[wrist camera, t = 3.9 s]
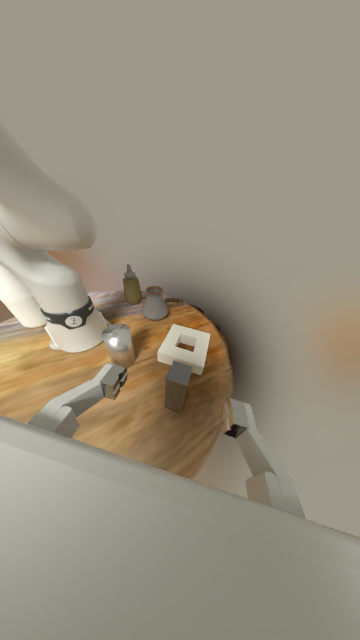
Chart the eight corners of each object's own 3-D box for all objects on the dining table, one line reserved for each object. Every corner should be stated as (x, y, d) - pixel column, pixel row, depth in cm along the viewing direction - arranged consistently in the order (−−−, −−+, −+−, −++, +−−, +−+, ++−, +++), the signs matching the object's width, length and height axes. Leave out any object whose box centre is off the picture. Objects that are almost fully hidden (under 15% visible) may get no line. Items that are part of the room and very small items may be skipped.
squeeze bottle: (132, 307, 64) (125, 269, 52) (122, 301, 67) (114, 264, 56) (145, 301, 69) (142, 265, 58) (135, 295, 72) (130, 261, 61)
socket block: (157, 361, 42) (157, 352, 39) (172, 332, 53) (173, 323, 50) (201, 375, 40) (204, 367, 37) (207, 342, 50) (210, 333, 47)
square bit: (165, 407, 32) (165, 378, 24) (170, 391, 35) (173, 360, 27) (180, 413, 32) (187, 386, 23) (185, 396, 35) (192, 366, 26)
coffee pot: (137, 314, 60) (132, 283, 50) (157, 305, 67) (156, 276, 57) (169, 341, 49) (170, 307, 40) (189, 327, 56) (195, 296, 46)
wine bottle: (35, 313, 55) (-31, 224, 36) (61, 313, 56) (10, 227, 38) (16, 329, 48) (-79, 228, 29) (46, 328, 49) (-26, 231, 30)
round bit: (110, 357, 42) (98, 329, 34) (130, 348, 45) (124, 320, 38) (117, 373, 38) (105, 346, 30) (139, 362, 41) (133, 334, 34)
